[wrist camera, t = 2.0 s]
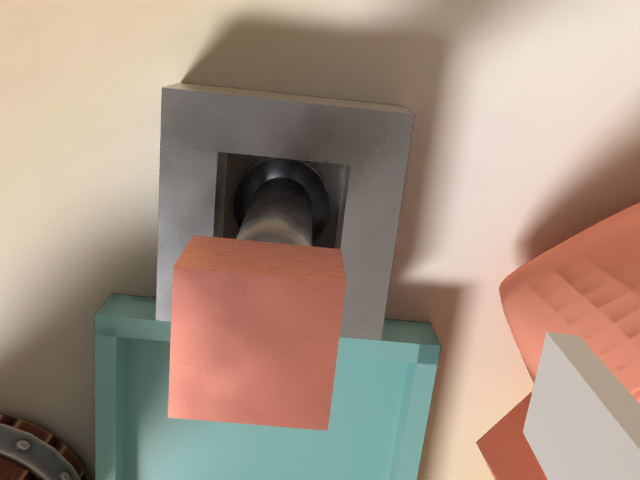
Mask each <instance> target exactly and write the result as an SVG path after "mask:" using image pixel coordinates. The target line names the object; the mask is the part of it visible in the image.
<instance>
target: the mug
mask: <svg viewBox="0 0 640 480" xmlns="http://www.w3.org/2000/svg"><path fill="white" fill-rule="evenodd" d="M85 471H86V470H85V469H84V467H83V466H82V464H81V463H80V461H79V460H78V458H77V457H76V456H75V454H74V453H73V452H72V451H71V450H70V449H69V448H68V447H67V446H66V445H65V444H64V443H63V442H61V441H60V440H59V439H57V438H56V437H55V436H54V435H52V434H51V433H49V432H47V431H46V430H44V429H42V428H40V427H39V426H37V425H34V424H32V423H29V422H27V421H24V420H22V419H17V418H13V417H9V416H6V415H0V480H89V479H88V478H87V476H86V475H85V473H84V472H85Z"/></svg>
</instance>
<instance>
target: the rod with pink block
mask: <svg viewBox="0 0 640 480" xmlns="http://www.w3.org/2000/svg"><path fill="white" fill-rule="evenodd" d="M329 208H330V205H329V195H328V191H327V187H326V185H325V182H324V180H323V179H322V177H321V176H320V174H319V173H318V172H317V171H316V170H315V169H314V168H313V167H312V166H311V165H309V164H308V163H306V162H304V161H302V160H293V159H283V158H273V157H270V158H266V159H264V160H261V161H260V162H258V163H256V164H255V165H253V166H252V167H251V168H250V169H249V170H248V171H247V172H246V173H245V174H244V176H243V178H242V179H241V181H240V183H239V185H238V187H237V189H236V192H235V196H234V202H233V209H234V215H235V219H236V222H237V224H238V227H239V228H240V230H239V232H238V235H237V237H236V239H230V238H220V237H209V236H199V235H193V236H192V238H191V239H190V241H189V243H188V244H187V246H186V247H185V249H184V250H183V252H182V254H181V255H180V257H179V258H178V260H177V262H176V263H175V265H174V266H173V285H172V314H171V342H170V370H169V398H168V418H180V419H192V420H204V421H216V422H228V423H240V424H252V425H264V426H276V427H288V428H300V429H313V430H325V431H328V425H329V417H330V409H331V401H332V393H333V385H334V377H335V370H336V362H337V354H338V346H339V338H340V330H341V322H342V314H343V306H344V298H345V290H346V277H345V270H344V263H343V256H342V249H335V248H324V247H314V246H312V242H313V241H315V240H316V239H317V238H318V236H319V235H320V234H321V233H322V231H323V230H324V228H325V226H326V223H327V220H328V217H329Z"/></svg>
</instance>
